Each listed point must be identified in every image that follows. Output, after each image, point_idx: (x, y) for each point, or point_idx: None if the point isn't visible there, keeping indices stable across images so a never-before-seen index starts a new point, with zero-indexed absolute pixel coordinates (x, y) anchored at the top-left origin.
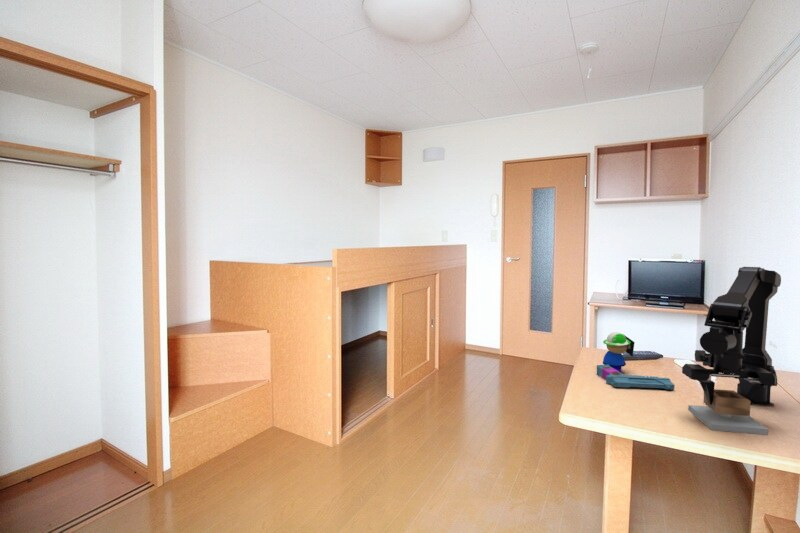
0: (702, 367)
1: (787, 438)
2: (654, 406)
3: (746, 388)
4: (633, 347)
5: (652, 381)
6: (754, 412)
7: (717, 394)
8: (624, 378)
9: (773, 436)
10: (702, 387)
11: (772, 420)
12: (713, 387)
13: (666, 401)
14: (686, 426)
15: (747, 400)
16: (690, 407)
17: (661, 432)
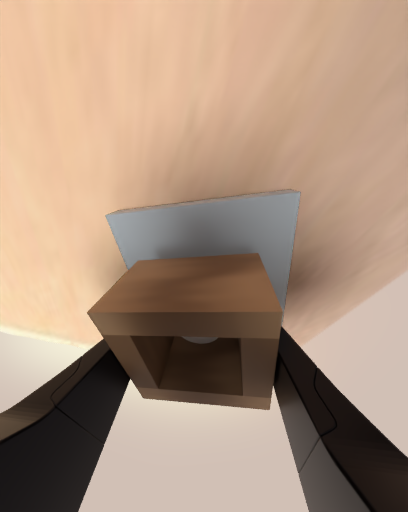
0: None
1: (313, 327)
2: (24, 213)
3: (308, 478)
4: None
5: None
6: (402, 131)
7: (147, 371)
8: None
9: (284, 324)
10: (61, 377)
11: (397, 218)
12: (93, 461)
13: (38, 130)
14: None
15: (258, 407)
16: (114, 231)
17: (78, 341)
